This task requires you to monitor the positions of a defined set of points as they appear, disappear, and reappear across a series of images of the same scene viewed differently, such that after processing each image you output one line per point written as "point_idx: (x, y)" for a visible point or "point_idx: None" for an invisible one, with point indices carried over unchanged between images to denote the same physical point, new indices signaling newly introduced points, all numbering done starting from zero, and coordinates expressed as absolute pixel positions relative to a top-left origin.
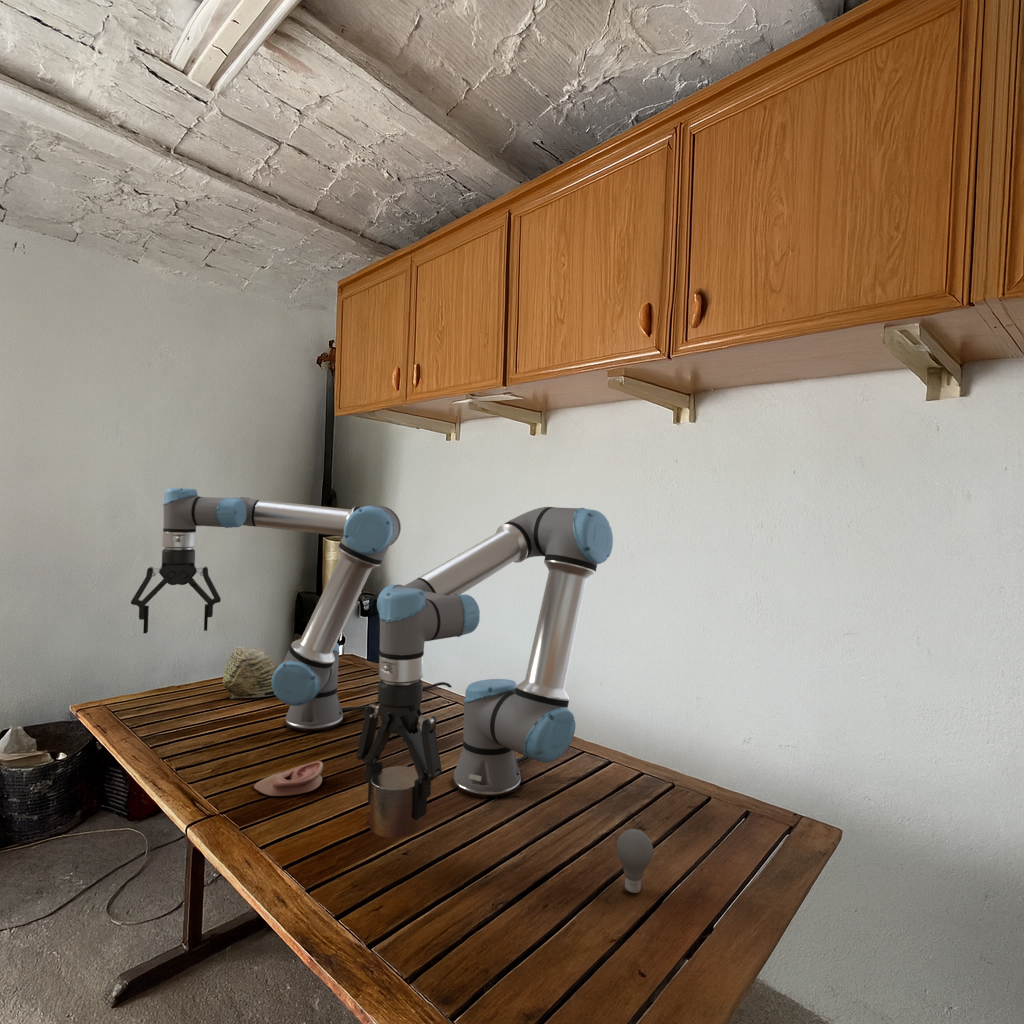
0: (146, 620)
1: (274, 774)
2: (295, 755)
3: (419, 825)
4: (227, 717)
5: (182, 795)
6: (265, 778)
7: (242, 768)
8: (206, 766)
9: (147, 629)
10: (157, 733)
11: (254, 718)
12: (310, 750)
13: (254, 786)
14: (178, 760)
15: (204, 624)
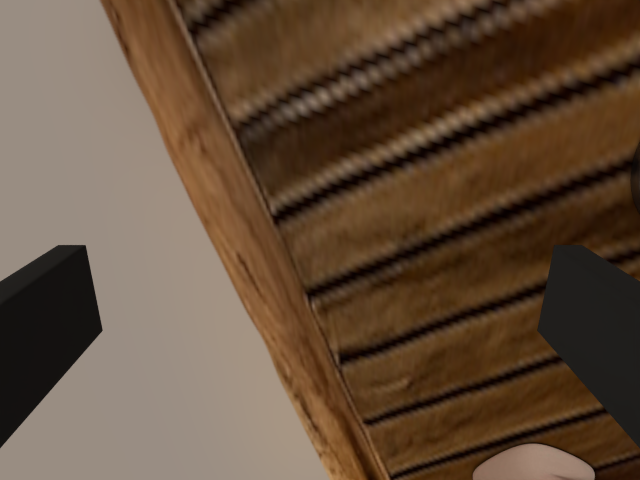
0: (28, 409)
1: (517, 461)
2: None
3: None
4: (484, 13)
5: (354, 461)
6: (497, 474)
7: (466, 391)
8: (398, 362)
9: (81, 295)
10: (276, 110)
11: (564, 54)
12: None
13: (473, 477)
14: (342, 315)
15: (570, 366)
